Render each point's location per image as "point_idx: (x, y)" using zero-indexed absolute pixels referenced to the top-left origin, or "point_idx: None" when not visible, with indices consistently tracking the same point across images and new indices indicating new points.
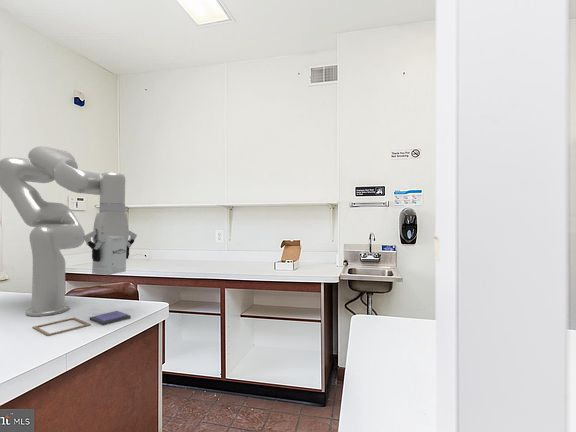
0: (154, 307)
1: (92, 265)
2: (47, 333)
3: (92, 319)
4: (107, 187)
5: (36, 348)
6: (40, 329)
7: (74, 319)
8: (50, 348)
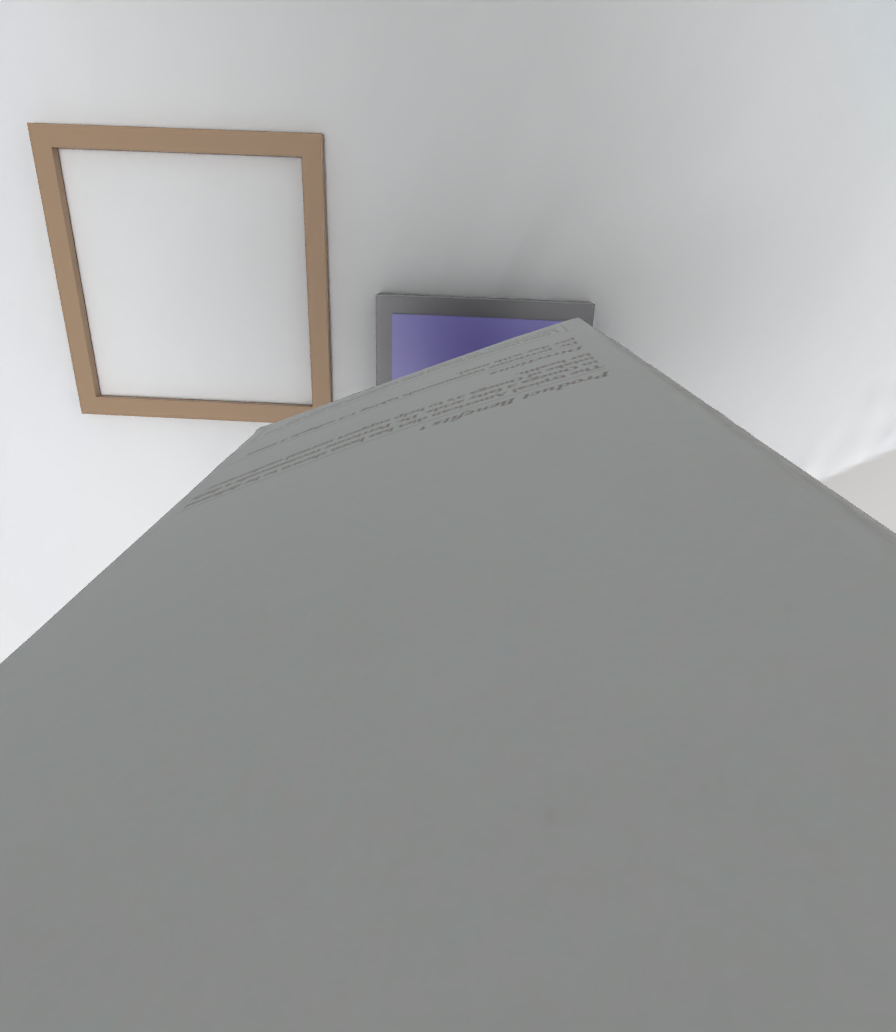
0: (865, 402)
1: (210, 477)
2: (85, 384)
3: (377, 342)
4: None
5: (18, 546)
6: (64, 251)
7: (304, 191)
8: (68, 598)
